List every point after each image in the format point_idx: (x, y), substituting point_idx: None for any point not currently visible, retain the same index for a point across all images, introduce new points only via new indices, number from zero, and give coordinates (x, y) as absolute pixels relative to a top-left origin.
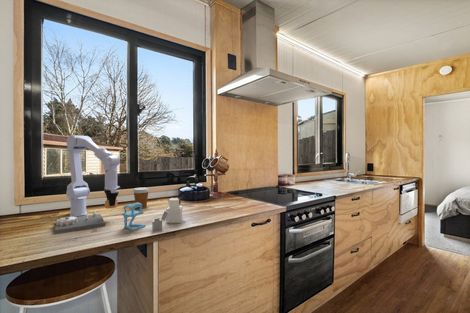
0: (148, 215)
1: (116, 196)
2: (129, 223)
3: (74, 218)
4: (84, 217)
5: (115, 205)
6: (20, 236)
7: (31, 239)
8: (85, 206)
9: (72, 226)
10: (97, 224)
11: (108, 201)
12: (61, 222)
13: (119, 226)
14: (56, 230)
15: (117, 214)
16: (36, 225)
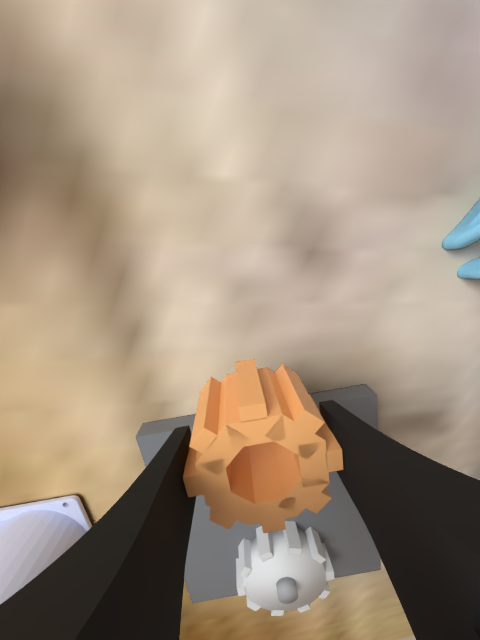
0: (239, 52)
1: (469, 483)
2: (469, 244)
3: (295, 557)
4: (197, 506)
5: (303, 387)
6: (338, 629)
7: (396, 595)
8: (10, 567)
9: (358, 525)
10: (374, 427)
11: (310, 497)
12: (325, 586)
13: (427, 306)
14: (379, 564)
15: (113, 323)
16: (207, 629)
